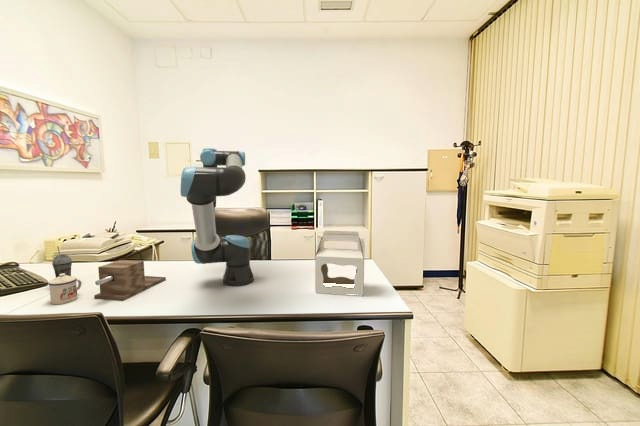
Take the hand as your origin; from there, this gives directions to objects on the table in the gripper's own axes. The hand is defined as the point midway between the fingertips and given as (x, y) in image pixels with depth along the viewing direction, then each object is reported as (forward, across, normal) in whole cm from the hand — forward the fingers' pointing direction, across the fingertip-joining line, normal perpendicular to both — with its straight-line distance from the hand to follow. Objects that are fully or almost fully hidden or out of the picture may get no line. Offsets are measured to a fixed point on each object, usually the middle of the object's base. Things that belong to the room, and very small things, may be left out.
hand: (212, 219), depth 164 cm
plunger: (+23, -11, +45) cm, 52 cm away
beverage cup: (+30, +16, +66) cm, 74 cm away
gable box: (+30, -64, -40) cm, 81 cm away
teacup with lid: (+30, -5, +63) cm, 70 cm away
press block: (+29, -6, +39) cm, 49 cm away
